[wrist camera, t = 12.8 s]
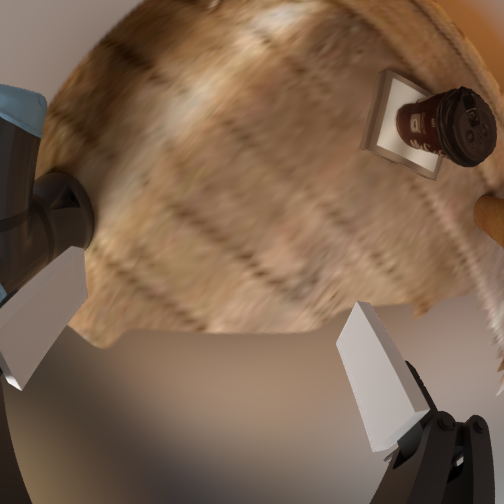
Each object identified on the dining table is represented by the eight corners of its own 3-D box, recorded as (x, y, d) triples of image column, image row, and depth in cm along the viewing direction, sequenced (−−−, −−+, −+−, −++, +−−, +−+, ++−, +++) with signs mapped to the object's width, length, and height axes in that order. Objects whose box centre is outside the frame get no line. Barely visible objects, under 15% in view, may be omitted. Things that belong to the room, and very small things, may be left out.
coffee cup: (393, 83, 26) (454, 67, 14) (440, 108, 27) (504, 108, 15) (381, 143, 30) (442, 152, 18) (429, 164, 30) (493, 182, 18)
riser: (359, 148, 33) (368, 149, 30) (378, 73, 28) (388, 68, 25) (424, 177, 34) (436, 181, 31) (441, 108, 29) (453, 108, 26)
